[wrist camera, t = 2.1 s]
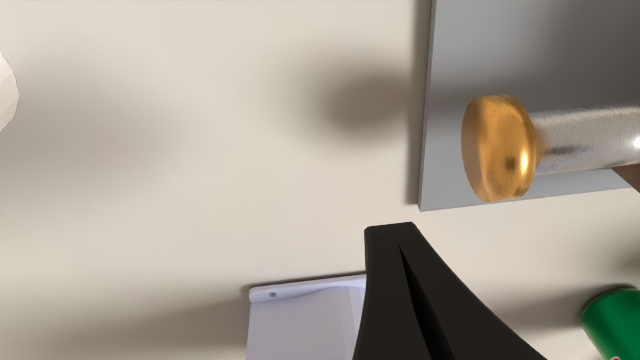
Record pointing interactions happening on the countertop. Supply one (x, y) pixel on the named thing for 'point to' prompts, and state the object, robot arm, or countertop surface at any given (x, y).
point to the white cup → (7, 93)
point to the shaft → (542, 142)
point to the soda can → (614, 324)
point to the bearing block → (629, 174)
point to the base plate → (522, 80)
